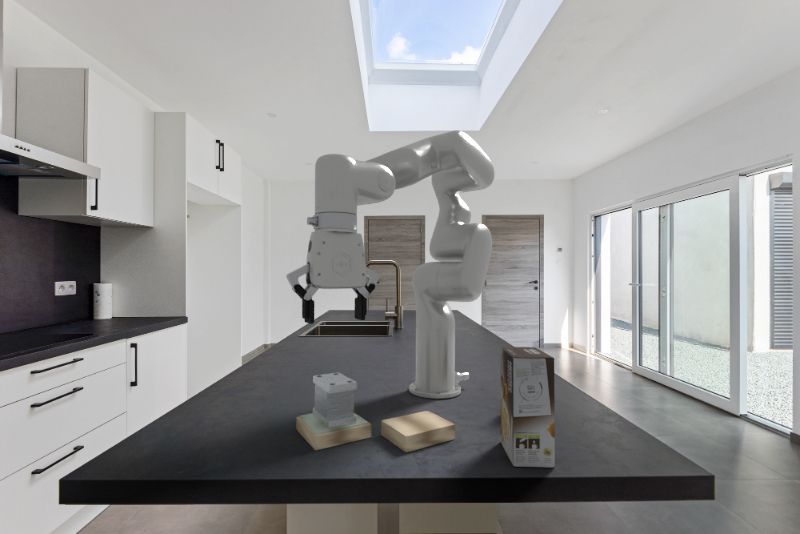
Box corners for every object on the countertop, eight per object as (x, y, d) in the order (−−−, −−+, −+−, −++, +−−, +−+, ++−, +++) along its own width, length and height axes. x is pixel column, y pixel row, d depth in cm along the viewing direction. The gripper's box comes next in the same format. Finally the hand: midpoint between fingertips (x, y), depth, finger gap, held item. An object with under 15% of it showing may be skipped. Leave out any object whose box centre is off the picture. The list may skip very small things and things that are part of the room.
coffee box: (557, 468, 56) (556, 357, 56) (512, 467, 56) (512, 357, 56) (536, 441, 65) (536, 346, 65) (498, 441, 65) (498, 346, 66)
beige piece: (427, 423, 72) (427, 410, 72) (454, 439, 66) (455, 424, 66) (381, 434, 67) (381, 420, 67) (406, 452, 60) (406, 436, 60)
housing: (356, 423, 66) (356, 381, 66) (328, 429, 63) (329, 385, 63) (338, 409, 73) (338, 372, 73) (312, 414, 70) (313, 375, 70)
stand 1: (347, 418, 75) (347, 406, 75) (371, 437, 66) (371, 422, 66) (296, 429, 69) (296, 415, 69) (315, 450, 61) (315, 434, 61)
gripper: (294, 219, 61) (293, 327, 61) (388, 226, 70) (387, 320, 70) (281, 224, 67) (280, 322, 67) (369, 230, 77) (368, 316, 76)
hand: (335, 321), depth 68 cm, fingers open, 9 cm apart
